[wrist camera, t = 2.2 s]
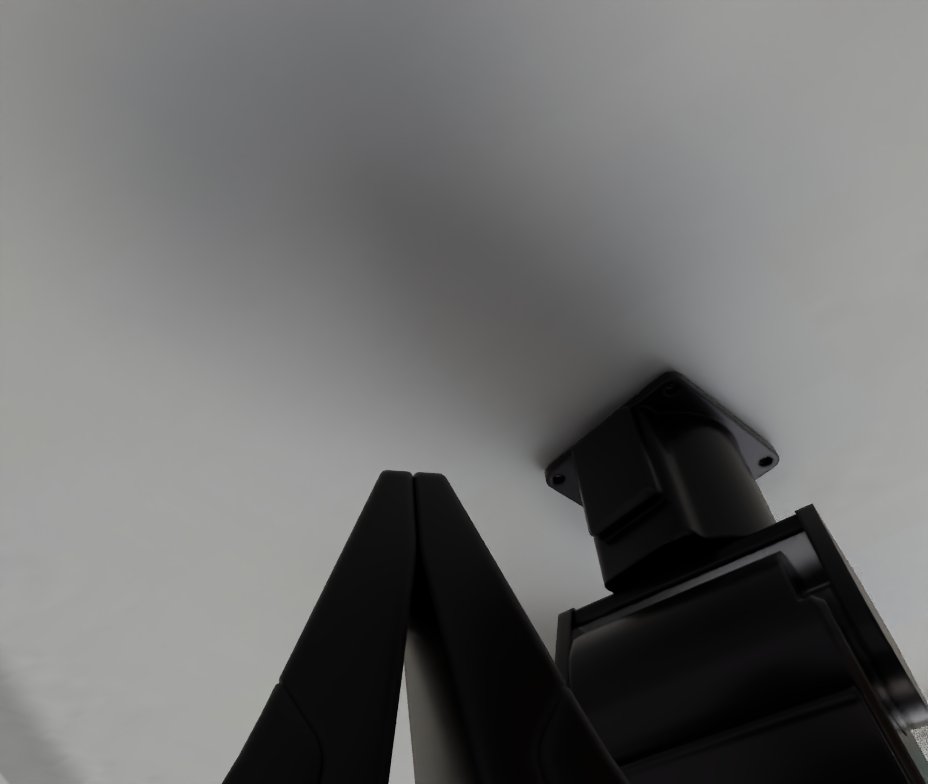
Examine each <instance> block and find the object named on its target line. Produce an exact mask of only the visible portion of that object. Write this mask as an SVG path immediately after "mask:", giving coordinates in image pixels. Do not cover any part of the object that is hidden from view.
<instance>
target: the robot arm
mask: <svg viewBox="0 0 928 784" xmlns="http://www.w3.org/2000/svg"><path fill="white" fill-rule="evenodd" d="M671 384H676V385H675V386H674V387H672V388H670V389H666V387H667V386H669V385H671ZM764 457H766V458H764ZM762 458H764V459H762ZM778 462H779V456H778V454H777V452H776V450H775V449H774V447H773V446H771V445H770V444H769V443H768V442H766V441H765V440H764V439H762V438H761V437H760V436H759V435H757V434H756V433H755V432H754V431H752V430H751V429H750V428H748V427H747V426H746V425H745V424H743V423H742V422H741V421H740V420H738V419H737V418H736V417H734V416H733V415H732V414H731V413H729V412H728V411H727V410H726V409H724V408H723V407H722V406H720V405H719V404H718V403H717V402H715V401H714V400H713V399H712V398H710V397H709V396H708V395H706V394H705V393H704V392H703V391H701V390H700V389H699V388H698V387H696V386H695V385H694V384H692V383H691V382H690V381H689V380H687V379H686V378H685V377H684V376H682V375H681V374H679V373H677V372H666V373H664V374H662V375H660V376H659V377H658V378H657V379H655V380H654V381H653V382H652V383H650V384H649V385H648V386H647V387H645V388H644V389H643V390H642V391H641V392H639V393H638V394H637V395H636V396H634V397H633V398H632V399H631V400H629V401H628V402H627V403H626V404H624V405H623V406H622V407H621V408H620V409H618V410H617V411H616V412H615V413H613V414H612V415H611V416H610V417H608V418H607V419H606V420H605V421H604V422H602V423H601V424H600V425H599V426H597V427H596V428H595V429H594V430H592V431H591V432H590V433H589V434H588V435H586V436H585V437H584V438H583V439H581V440H580V441H579V442H578V443H576V444H575V445H574V446H573V447H572V448H570V449H569V450H568V451H567V452H565V453H564V454H563V455H562V456H560V457H559V458H558V459H557V460H556V461H554V462H553V463H552V464H551V465H549V466H548V467H547V469H546V470H545V477H546V482H547V484H548V485H549V486H550V487H551V488H553V489H554V490H556V491H558V492H559V493H561V494H563V495H564V496H566V497H568V498H569V499H571V500H573V501H574V502H576V503H577V504H579V505H581V506H582V507H583V508H584V512H585V517H586V521H587V526H588V530H589V533H590V535H591V536H593V537H594V542H595V546H596V550H597V555H598V559H599V563H600V568H601V572H602V576H603V581H604V585H605V588H606V589H607V590H609V591H611V592H613V594H611V595H609V596H607V597H605V598H602V599H600V600H598V601H595V602H593V603H591V604H588V605H586V606H584V607H582V608H579V609H577V610H576V609H574V608H572V609H570V610H568V611H565V612H563V613H561V614H559V615H558V627H557V640H556V654H555V662H554V661H553V659H552V657H551V656H550V654H549V652H548V650H547V649H546V647H545V645H544V644H543V642H542V640H541V639H540V637H539V635H538V633H537V632H536V630H535V628H534V627H533V625H532V623H531V621H530V620H529V618H528V616H527V615H526V613H525V611H524V610H523V608H522V606H521V604H520V603H519V601H518V599H517V598H516V596H515V594H514V592H513V591H512V589H511V587H510V586H509V584H508V582H507V581H506V579H505V577H504V575H503V574H502V572H501V570H500V569H499V567H498V565H497V563H496V562H495V560H494V558H493V557H492V555H491V553H490V552H489V550H488V548H487V546H486V545H485V543H484V541H483V540H482V538H481V536H480V534H479V533H478V531H477V529H476V528H475V526H474V524H473V523H472V521H471V519H470V517H469V516H468V514H467V512H466V511H465V509H464V507H463V505H462V504H461V502H460V500H459V499H458V497H457V495H456V494H455V492H454V490H453V488H452V487H451V485H450V483H449V482H448V480H447V478H446V477H445V476H444V475H442V474H439V473H424V472H417V473H415V474H414V475H413V476H412V474H411V473H410V472H407V471H392V470H385V471H383V472H382V473H381V474H380V476H379V478H378V480H377V482H376V484H375V486H374V488H373V490H372V492H371V494H370V496H369V498H368V500H367V502H366V504H365V506H364V508H363V510H362V512H361V514H360V516H359V518H358V520H357V522H356V524H355V526H354V528H353V530H352V532H351V534H350V536H349V538H348V541H347V543H346V545H345V547H344V549H343V551H342V553H341V555H340V557H339V559H338V561H337V563H336V565H335V567H334V569H333V571H332V573H331V575H330V577H329V579H328V581H327V583H326V585H325V587H324V589H323V591H322V593H321V595H320V597H319V599H318V601H317V603H316V605H315V607H314V609H313V611H312V613H311V615H310V617H309V619H308V621H307V623H306V625H305V627H304V630H303V632H302V634H301V636H300V638H299V640H298V642H297V644H296V646H295V648H294V650H293V652H292V654H291V656H290V658H289V660H288V662H287V664H286V666H285V668H284V670H283V672H282V674H281V676H280V678H279V684H276V685H275V687H274V689H273V691H272V693H271V695H270V697H269V699H268V701H267V703H266V705H265V707H264V709H263V711H262V713H261V715H260V717H259V719H258V721H257V723H256V725H255V726H254V728H253V730H252V732H251V734H250V736H249V738H248V740H247V741H246V743H245V745H244V747H243V749H242V751H241V753H240V754H239V756H238V758H237V759H236V761H235V763H234V764H233V766H232V768H231V769H230V771H229V773H228V774H227V776H226V777H225V779H224V781H223V782H222V784H388V782H389V774H390V766H391V758H392V750H393V743H394V735H395V727H396V719H397V711H398V703H399V695H400V687H401V680H402V672H403V664H404V666H405V677H406V688H407V699H408V710H409V721H410V731H411V742H412V753H413V764H414V775H415V784H928V762H927V760H926V758H925V756H924V755H923V753H922V751H921V749H920V747H919V745H918V744H917V742H916V740H915V738H914V736H913V735H912V733H911V731H910V730H912V729H916V728H919V727H923V726H926V725H928V704H927V702H926V700H925V698H924V696H923V694H922V692H921V690H920V688H919V687H918V685H917V683H916V681H915V679H914V677H913V675H912V673H911V671H910V669H909V667H908V665H907V663H906V662H905V660H904V658H903V656H902V654H901V652H900V650H899V648H898V646H897V644H896V643H895V641H894V639H893V637H892V636H891V634H890V632H889V630H888V629H887V627H886V625H885V624H884V622H883V620H882V618H881V617H880V615H879V613H878V611H877V610H876V608H875V606H874V605H873V603H872V601H871V599H870V598H869V596H868V594H867V592H866V591H865V589H864V587H863V585H862V584H861V582H860V580H859V579H858V577H857V575H856V574H855V572H854V571H853V569H852V567H851V566H850V564H849V562H848V561H847V559H846V558H845V556H844V554H843V553H842V551H841V549H840V548H839V546H838V545H837V543H836V541H835V540H834V538H833V536H832V535H831V533H830V532H829V530H828V528H827V527H826V525H825V523H824V522H823V520H822V519H821V517H820V515H819V514H818V512H817V510H816V509H815V507H814V506H813V504H810V505H808V506H806V507H803V508H801V509H799V510H796V511H795V513H796V514H795V515H793V516H791V517H788V518H786V519H784V520H782V521H779V522H777V523H776V521H775V519H774V517H773V515H772V513H771V511H770V509H769V507H768V505H767V503H766V501H765V499H764V497H763V495H762V493H761V491H760V489H759V487H758V485H757V483H756V481H755V480H756V479H757V478H759V477H760V476H762V475H763V474H765V473H766V472H768V471H769V470H771V469H772V468H774V467H775V466H776V465H777V464H778ZM556 475H562V476H560V477H555V476H556Z"/></svg>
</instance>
